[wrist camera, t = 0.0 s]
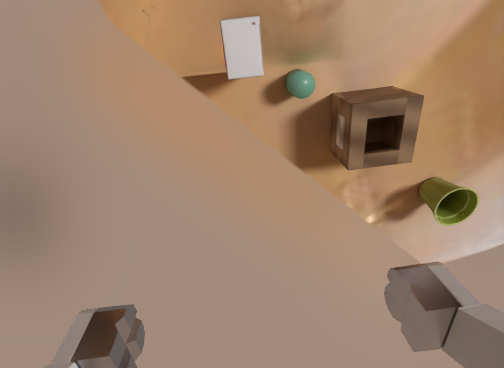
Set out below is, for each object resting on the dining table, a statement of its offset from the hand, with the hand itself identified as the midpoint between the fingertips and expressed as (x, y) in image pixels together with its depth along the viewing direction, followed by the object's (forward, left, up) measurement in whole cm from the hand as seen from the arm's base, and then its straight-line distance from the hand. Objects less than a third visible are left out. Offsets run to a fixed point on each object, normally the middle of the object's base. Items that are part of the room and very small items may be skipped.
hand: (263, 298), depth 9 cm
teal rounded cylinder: (+1, +12, -49) cm, 50 cm away
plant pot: (+29, +44, -49) cm, 72 cm away
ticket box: (+10, +25, -49) cm, 56 cm away
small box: (-6, +2, -49) cm, 49 cm away
